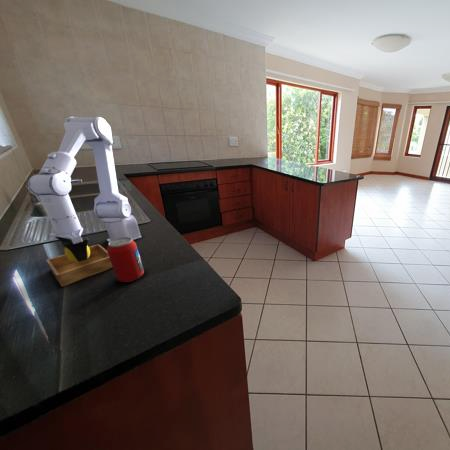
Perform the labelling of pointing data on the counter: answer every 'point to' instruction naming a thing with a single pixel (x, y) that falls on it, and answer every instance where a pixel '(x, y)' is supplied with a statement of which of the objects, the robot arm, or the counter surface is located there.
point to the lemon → (71, 256)
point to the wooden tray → (79, 266)
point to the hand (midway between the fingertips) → (80, 256)
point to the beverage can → (125, 259)
